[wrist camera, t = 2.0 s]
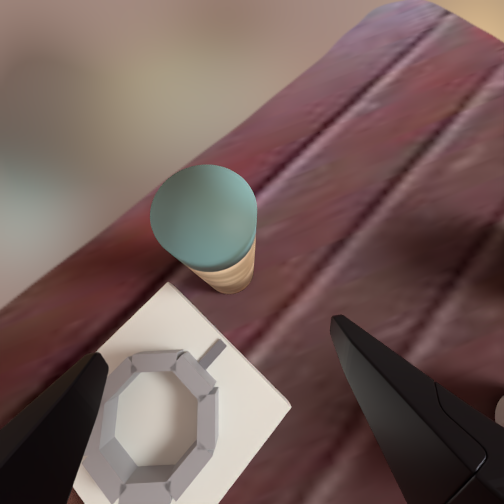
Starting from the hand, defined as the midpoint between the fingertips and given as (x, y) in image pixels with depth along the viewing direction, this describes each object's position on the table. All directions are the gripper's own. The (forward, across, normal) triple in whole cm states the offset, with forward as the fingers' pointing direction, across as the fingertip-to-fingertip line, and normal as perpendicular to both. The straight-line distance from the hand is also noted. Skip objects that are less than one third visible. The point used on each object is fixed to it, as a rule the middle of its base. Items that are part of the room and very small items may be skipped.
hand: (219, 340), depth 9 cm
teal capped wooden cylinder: (+12, 0, +5) cm, 13 cm away
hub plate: (+4, +6, +12) cm, 14 cm away
